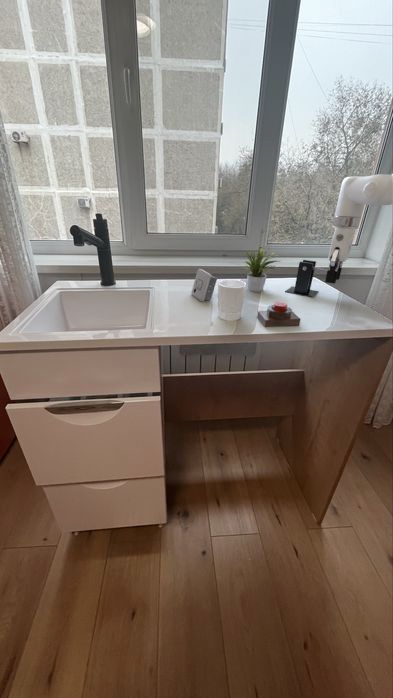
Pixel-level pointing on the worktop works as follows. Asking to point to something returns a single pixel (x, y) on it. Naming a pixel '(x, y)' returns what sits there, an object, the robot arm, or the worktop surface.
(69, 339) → the worktop surface
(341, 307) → the worktop surface
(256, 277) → the house plant
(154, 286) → the worktop surface
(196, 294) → the electrical switch
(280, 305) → the button
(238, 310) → the white cup
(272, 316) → the button block
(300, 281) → the black upright stand
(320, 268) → the grey lever
